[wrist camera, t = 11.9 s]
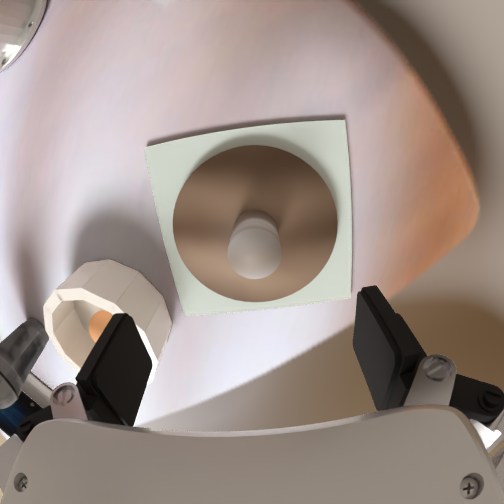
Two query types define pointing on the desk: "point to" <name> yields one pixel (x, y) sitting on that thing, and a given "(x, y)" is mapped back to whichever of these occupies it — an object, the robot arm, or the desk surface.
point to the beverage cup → (19, 358)
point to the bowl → (105, 298)
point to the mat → (276, 135)
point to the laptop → (25, 404)
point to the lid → (255, 223)
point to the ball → (99, 323)
